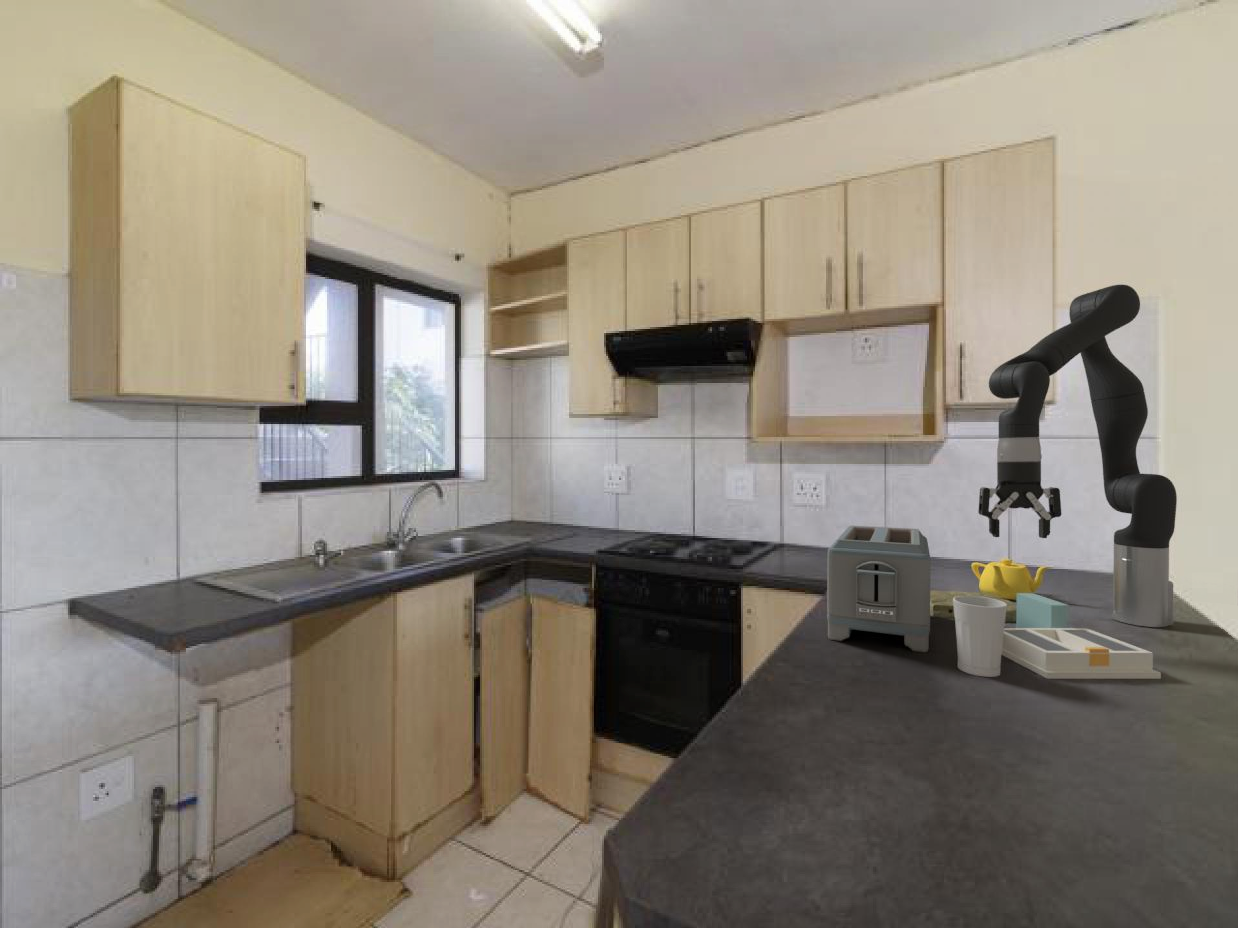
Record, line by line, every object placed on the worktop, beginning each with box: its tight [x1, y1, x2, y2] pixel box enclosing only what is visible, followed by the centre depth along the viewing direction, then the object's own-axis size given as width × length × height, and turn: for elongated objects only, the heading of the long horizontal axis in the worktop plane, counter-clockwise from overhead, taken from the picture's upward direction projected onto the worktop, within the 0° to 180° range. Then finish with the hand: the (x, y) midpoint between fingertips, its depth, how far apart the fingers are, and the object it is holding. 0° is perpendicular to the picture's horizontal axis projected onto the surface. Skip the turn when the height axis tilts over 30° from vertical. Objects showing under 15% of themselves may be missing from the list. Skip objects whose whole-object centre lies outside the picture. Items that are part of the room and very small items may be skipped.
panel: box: [1015, 592, 1070, 628], centre depth 119 cm, size 4×10×8 cm, turn 0°
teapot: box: [970, 558, 1051, 601], centre depth 154 cm, size 14×13×10 cm
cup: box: [953, 596, 1007, 678], centre depth 101 cm, size 8×8×12 cm
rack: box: [1001, 627, 1162, 680], centre depth 105 cm, size 19×16×5 cm
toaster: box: [826, 525, 932, 653], centre depth 125 cm, size 19×33×20 cm, turn 153°
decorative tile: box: [930, 590, 1017, 623], centre depth 140 cm, size 19×20×4 cm
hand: (1018, 537), depth 121 cm, fingers open, 8 cm apart
